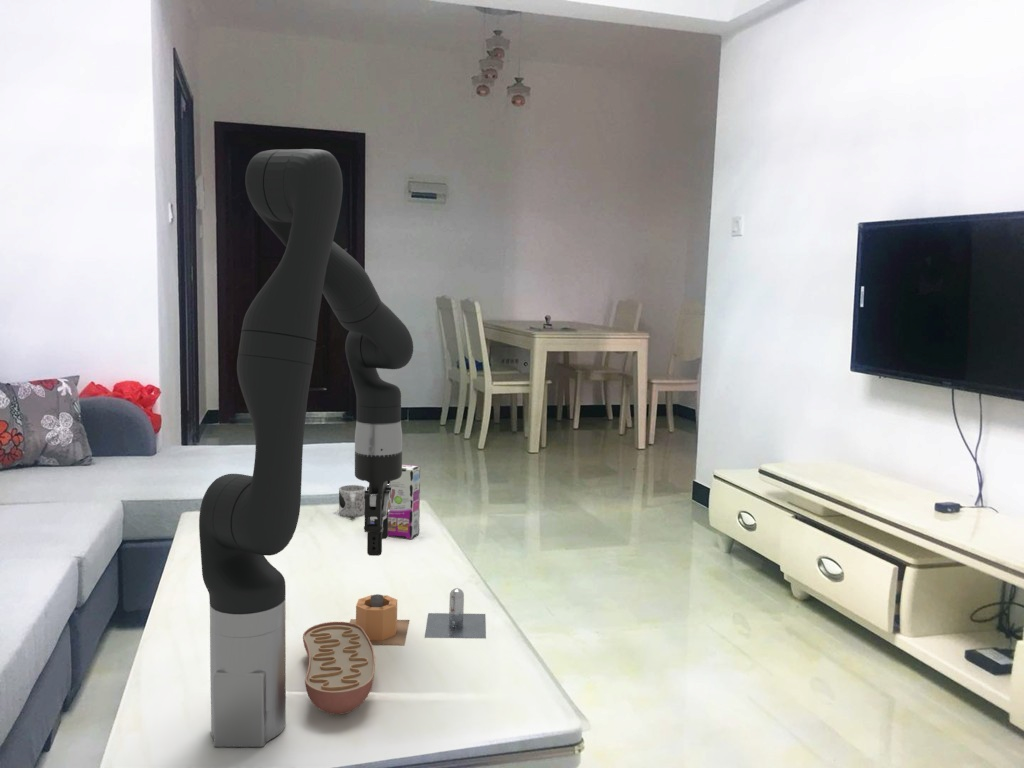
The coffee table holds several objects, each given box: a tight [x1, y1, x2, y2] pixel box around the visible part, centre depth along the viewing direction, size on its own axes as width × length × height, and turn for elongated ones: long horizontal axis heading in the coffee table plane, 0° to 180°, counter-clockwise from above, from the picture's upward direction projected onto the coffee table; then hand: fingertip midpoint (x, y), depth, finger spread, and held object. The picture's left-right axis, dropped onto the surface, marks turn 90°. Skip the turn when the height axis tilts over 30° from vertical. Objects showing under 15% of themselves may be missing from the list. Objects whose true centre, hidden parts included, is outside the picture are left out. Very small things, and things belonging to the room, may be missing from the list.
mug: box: [338, 484, 367, 518], centre depth 204 cm, size 10×7×7 cm, turn 12°
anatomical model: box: [302, 621, 376, 715], centre depth 117 cm, size 23×10×5 cm, turn 16°
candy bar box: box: [371, 464, 421, 540], centre depth 189 cm, size 11×5×16 cm, turn 73°
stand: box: [348, 593, 411, 647], centre depth 133 cm, size 10×10×7 cm
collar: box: [355, 594, 398, 640], centre depth 133 cm, size 6×6×5 cm
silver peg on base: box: [424, 587, 487, 639], centre depth 137 cm, size 10×10×7 cm
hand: (377, 546), depth 132 cm, fingers open, 8 cm apart
